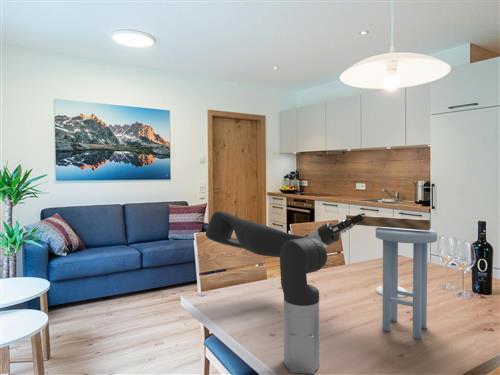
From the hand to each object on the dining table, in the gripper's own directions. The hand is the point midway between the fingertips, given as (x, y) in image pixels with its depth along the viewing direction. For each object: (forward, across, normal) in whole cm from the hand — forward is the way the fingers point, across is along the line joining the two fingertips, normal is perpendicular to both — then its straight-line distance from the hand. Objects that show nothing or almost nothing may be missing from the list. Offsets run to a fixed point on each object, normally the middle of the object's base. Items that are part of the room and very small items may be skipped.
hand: (363, 216), depth 118 cm
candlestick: (-17, -33, -32) cm, 49 cm away
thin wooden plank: (+5, 0, -6) cm, 8 cm away
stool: (-6, 0, -38) cm, 38 cm away
